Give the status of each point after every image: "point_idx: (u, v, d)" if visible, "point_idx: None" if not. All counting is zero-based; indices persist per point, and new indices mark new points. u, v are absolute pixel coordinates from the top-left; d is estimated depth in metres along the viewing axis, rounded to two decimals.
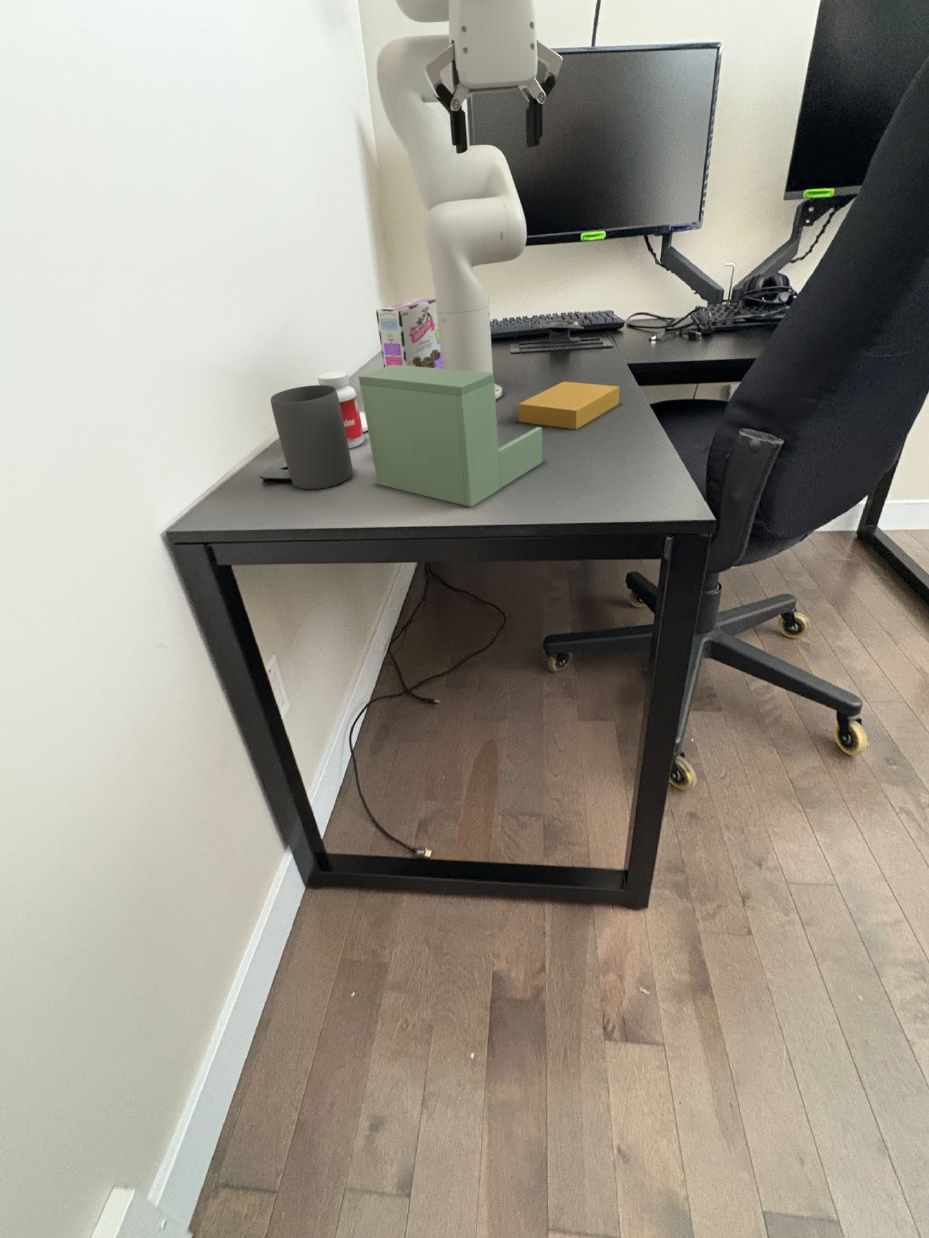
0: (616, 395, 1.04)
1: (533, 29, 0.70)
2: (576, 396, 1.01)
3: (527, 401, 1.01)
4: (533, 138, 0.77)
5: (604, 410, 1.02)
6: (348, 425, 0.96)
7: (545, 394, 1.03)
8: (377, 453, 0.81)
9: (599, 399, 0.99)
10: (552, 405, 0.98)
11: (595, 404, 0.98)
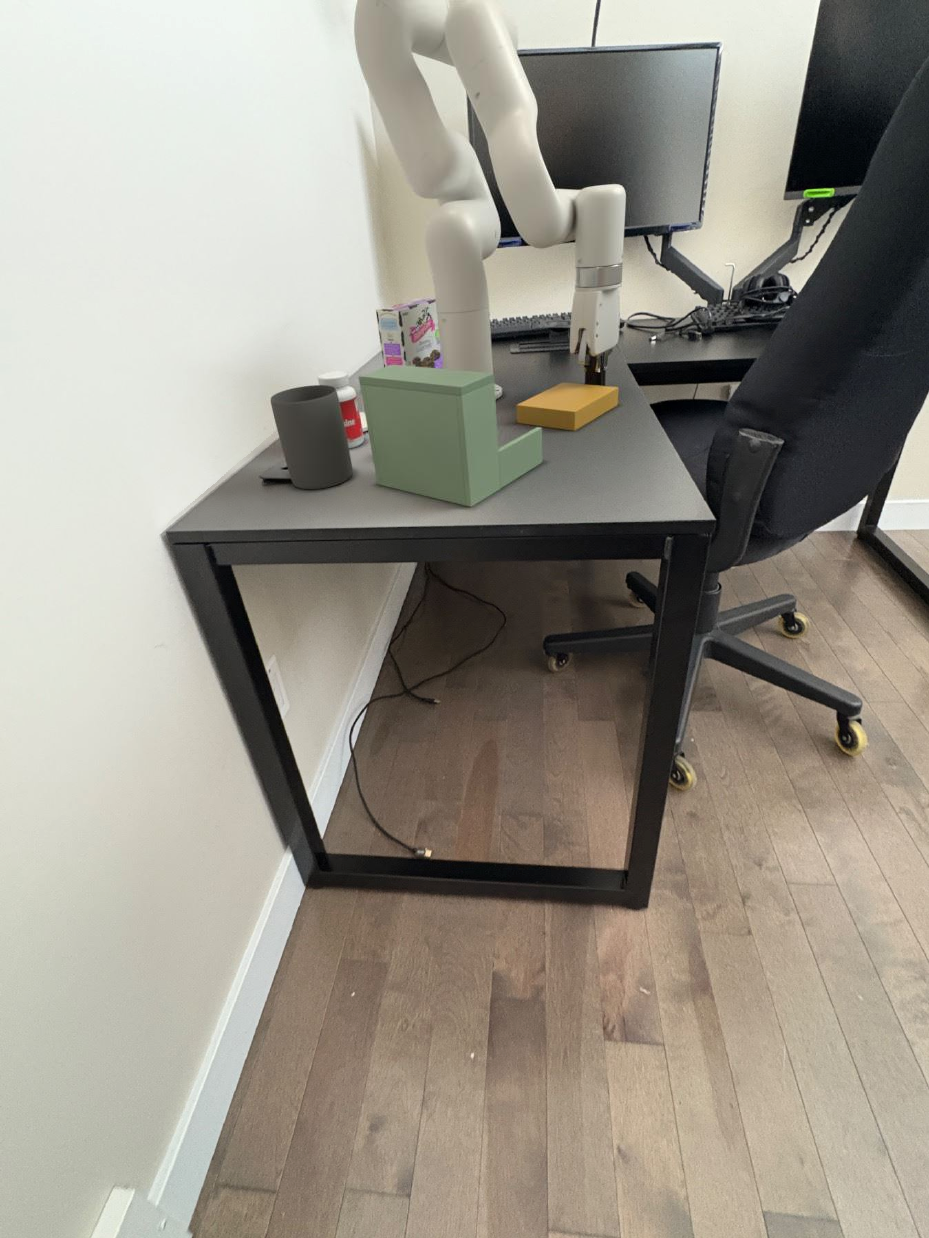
0: (615, 396, 1.03)
1: (619, 316, 1.03)
2: (575, 397, 1.00)
3: (525, 402, 1.00)
4: None
5: (603, 411, 1.01)
6: (348, 425, 0.96)
7: (544, 395, 1.03)
8: (377, 453, 0.81)
9: (598, 400, 0.99)
10: (551, 406, 0.97)
11: (593, 405, 0.98)
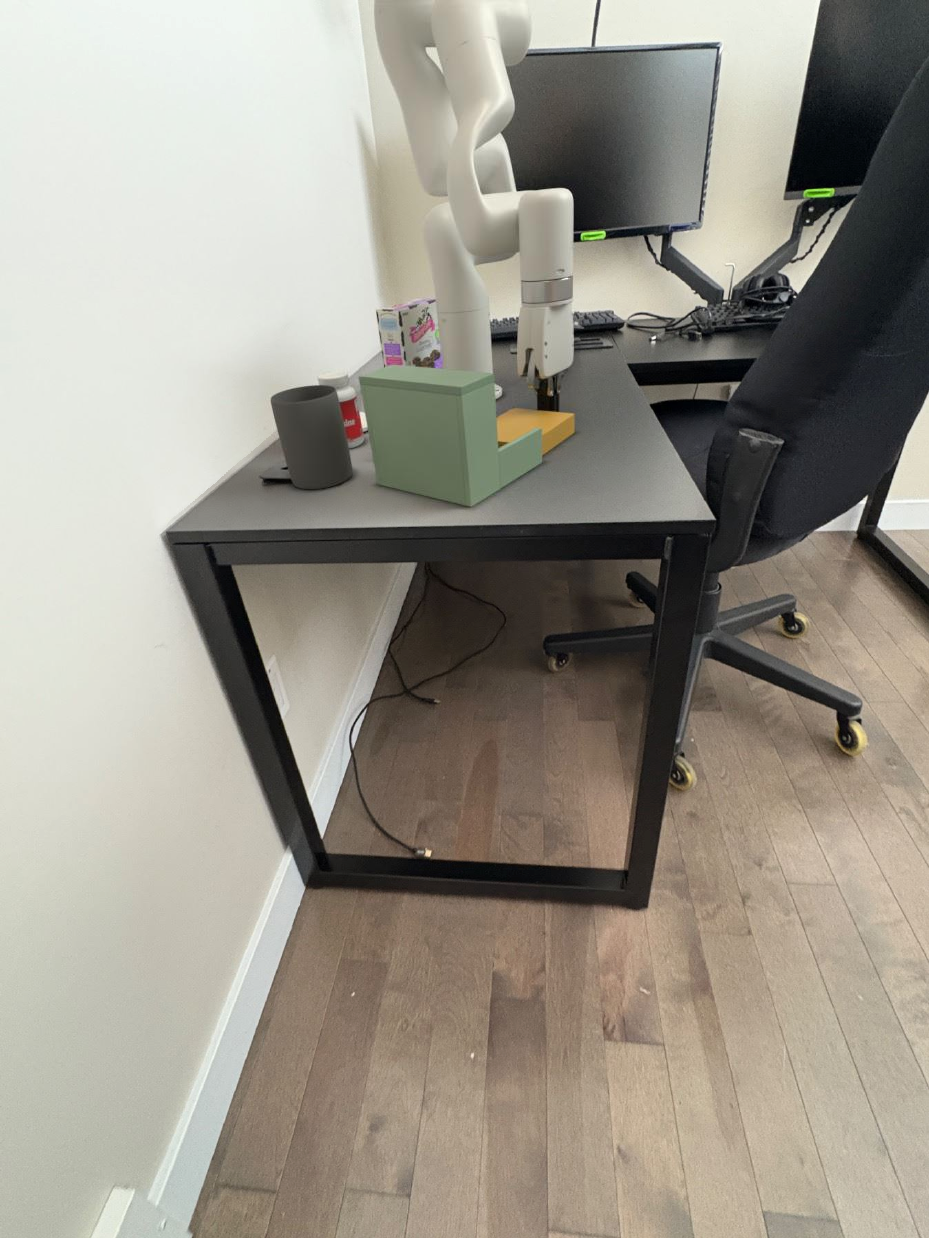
0: (572, 423, 0.93)
1: (573, 334, 0.93)
2: (527, 426, 0.90)
3: None
4: None
5: (559, 441, 0.91)
6: (348, 425, 0.96)
7: None
8: (377, 453, 0.81)
9: (553, 429, 0.88)
10: (500, 437, 0.87)
11: (548, 435, 0.88)
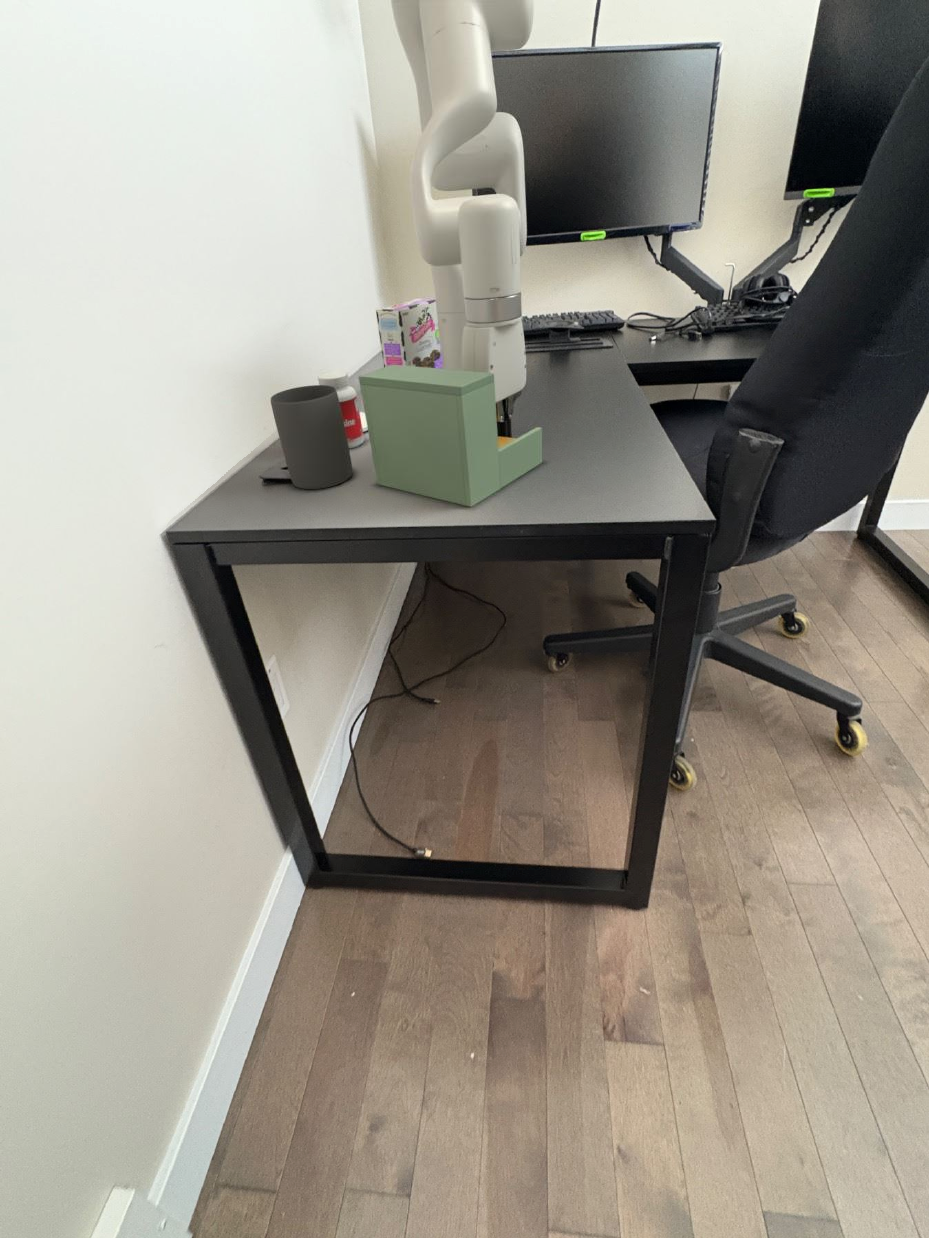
0: None
1: (524, 354, 0.85)
2: None
3: None
4: None
5: None
6: (348, 425, 0.96)
7: None
8: (377, 453, 0.81)
9: None
10: None
11: None
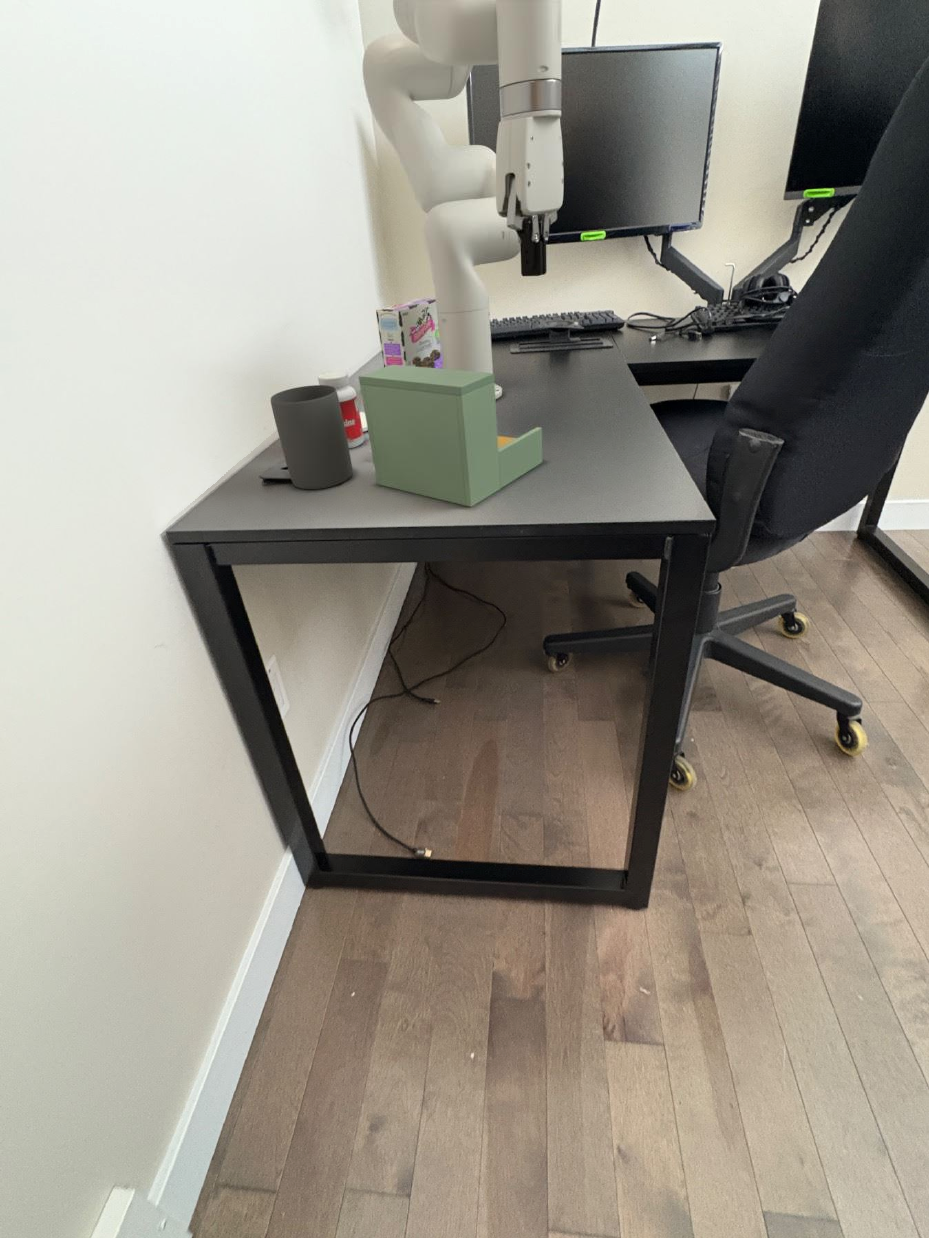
0: None
1: (562, 167, 0.79)
2: None
3: None
4: None
5: None
6: (348, 425, 0.96)
7: None
8: (377, 453, 0.81)
9: None
10: None
11: None
